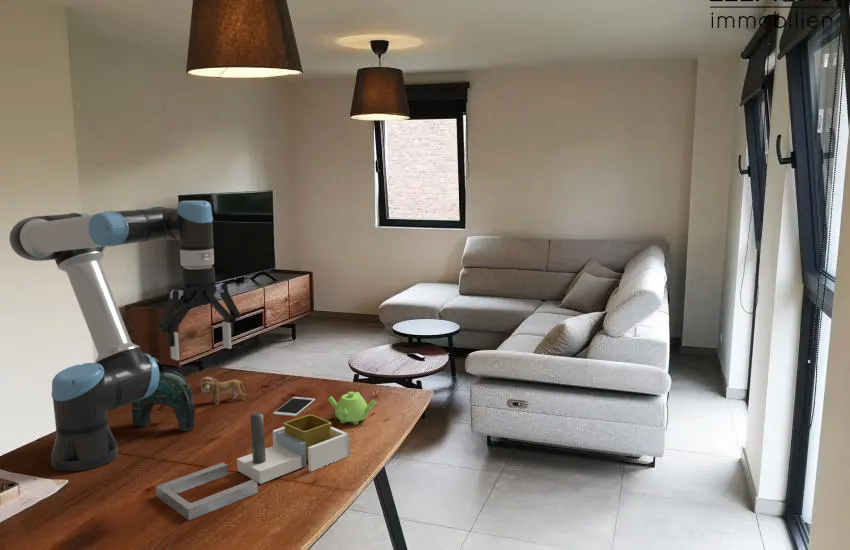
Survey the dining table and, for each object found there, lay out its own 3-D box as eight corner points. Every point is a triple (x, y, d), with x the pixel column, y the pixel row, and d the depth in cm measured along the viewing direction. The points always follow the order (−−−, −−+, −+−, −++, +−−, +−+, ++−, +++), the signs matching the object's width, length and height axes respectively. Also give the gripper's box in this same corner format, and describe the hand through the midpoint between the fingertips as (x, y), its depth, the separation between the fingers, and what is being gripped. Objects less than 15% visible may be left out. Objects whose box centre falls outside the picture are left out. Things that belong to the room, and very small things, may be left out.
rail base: (189, 520, 141) (188, 509, 140) (156, 496, 151) (155, 486, 151) (257, 492, 153) (257, 482, 152) (223, 472, 163) (222, 462, 162)
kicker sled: (260, 483, 156) (257, 423, 154) (237, 470, 163) (234, 412, 160) (306, 465, 165) (304, 408, 163) (283, 453, 172) (280, 398, 170)
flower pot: (312, 446, 178) (310, 413, 176) (333, 455, 172) (332, 422, 170) (284, 456, 171) (282, 422, 170) (305, 467, 165) (303, 432, 164)
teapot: (362, 410, 203) (361, 383, 201) (378, 423, 193) (377, 395, 191) (326, 417, 197) (326, 390, 196) (341, 431, 188) (340, 401, 186)
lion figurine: (204, 408, 205) (202, 380, 204) (199, 403, 210) (197, 375, 208) (251, 399, 213) (250, 372, 212) (246, 394, 218) (244, 367, 216)
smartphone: (315, 398, 213) (295, 415, 199) (315, 400, 213) (295, 417, 199) (293, 396, 215) (271, 413, 200) (294, 398, 215) (271, 415, 201)
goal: (311, 472, 163) (310, 448, 162) (273, 452, 174) (272, 430, 173) (349, 456, 171) (349, 433, 170) (311, 439, 182) (310, 417, 181)
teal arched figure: (125, 427, 191) (122, 357, 189) (140, 419, 197) (137, 352, 195) (186, 433, 186) (184, 362, 184) (200, 426, 192) (198, 357, 190)
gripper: (153, 274, 148) (159, 367, 152) (252, 262, 166) (255, 346, 170) (138, 270, 153) (144, 360, 157) (236, 259, 171) (239, 340, 175)
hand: (202, 353), depth 163 cm, fingers open, 13 cm apart
